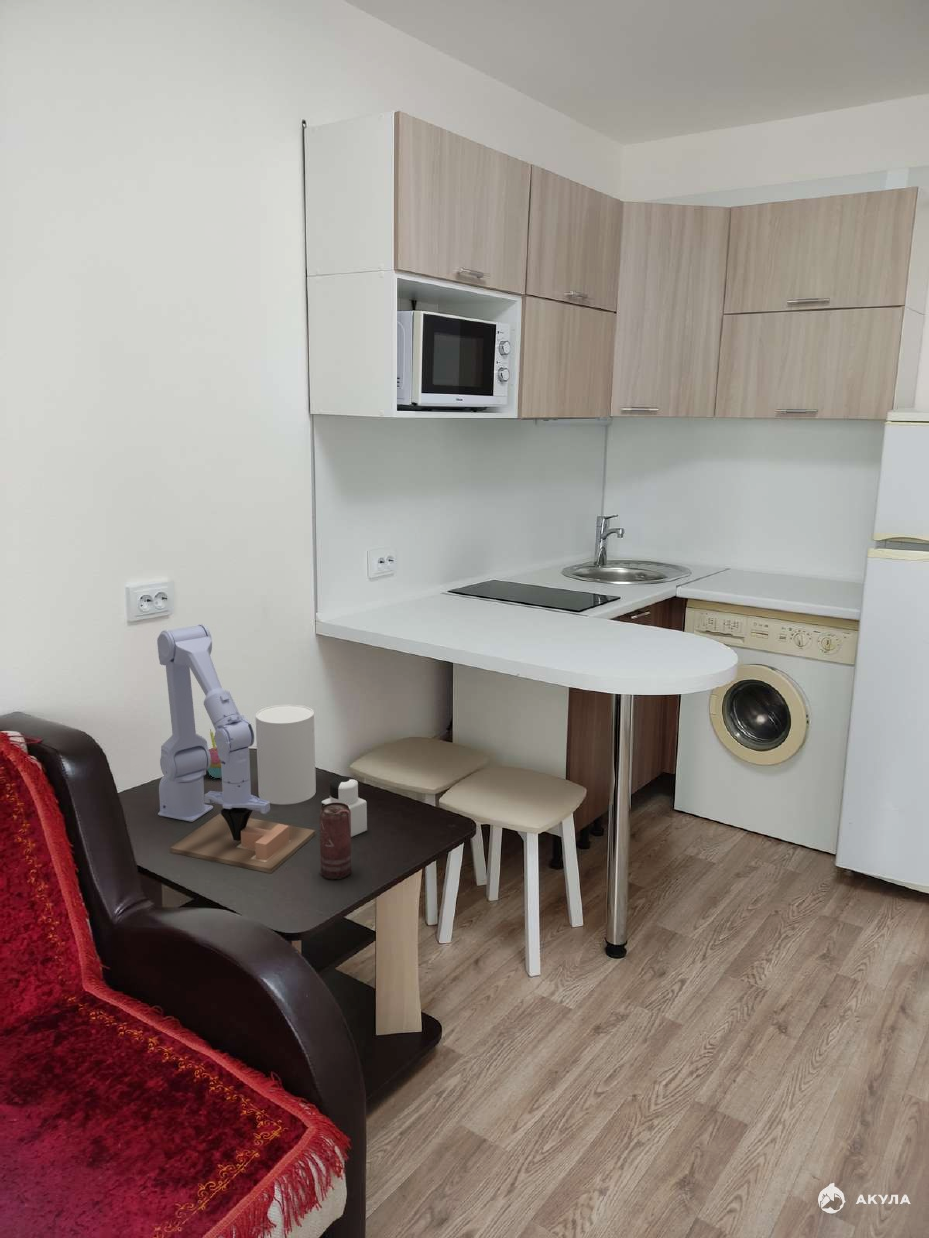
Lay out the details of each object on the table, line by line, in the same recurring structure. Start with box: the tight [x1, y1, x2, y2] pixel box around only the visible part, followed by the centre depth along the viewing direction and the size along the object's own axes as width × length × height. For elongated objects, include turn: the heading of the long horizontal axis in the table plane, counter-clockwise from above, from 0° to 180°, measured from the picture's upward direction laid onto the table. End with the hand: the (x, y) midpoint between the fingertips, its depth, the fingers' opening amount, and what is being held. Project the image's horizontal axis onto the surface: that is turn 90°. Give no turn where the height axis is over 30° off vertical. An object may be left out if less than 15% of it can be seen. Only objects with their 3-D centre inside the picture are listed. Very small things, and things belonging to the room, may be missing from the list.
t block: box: [241, 823, 289, 860], centre depth 188 cm, size 8×9×4 cm
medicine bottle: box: [321, 775, 368, 838], centre depth 197 cm, size 7×7×12 cm
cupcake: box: [207, 728, 222, 778], centre depth 226 cm, size 9×8×12 cm
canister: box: [255, 703, 317, 806], centre depth 215 cm, size 14×14×20 cm
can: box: [319, 803, 352, 880], centre depth 179 cm, size 6×6×14 cm
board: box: [169, 812, 316, 874], centre depth 192 cm, size 24×18×1 cm
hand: (238, 838), depth 190 cm, fingers closed
